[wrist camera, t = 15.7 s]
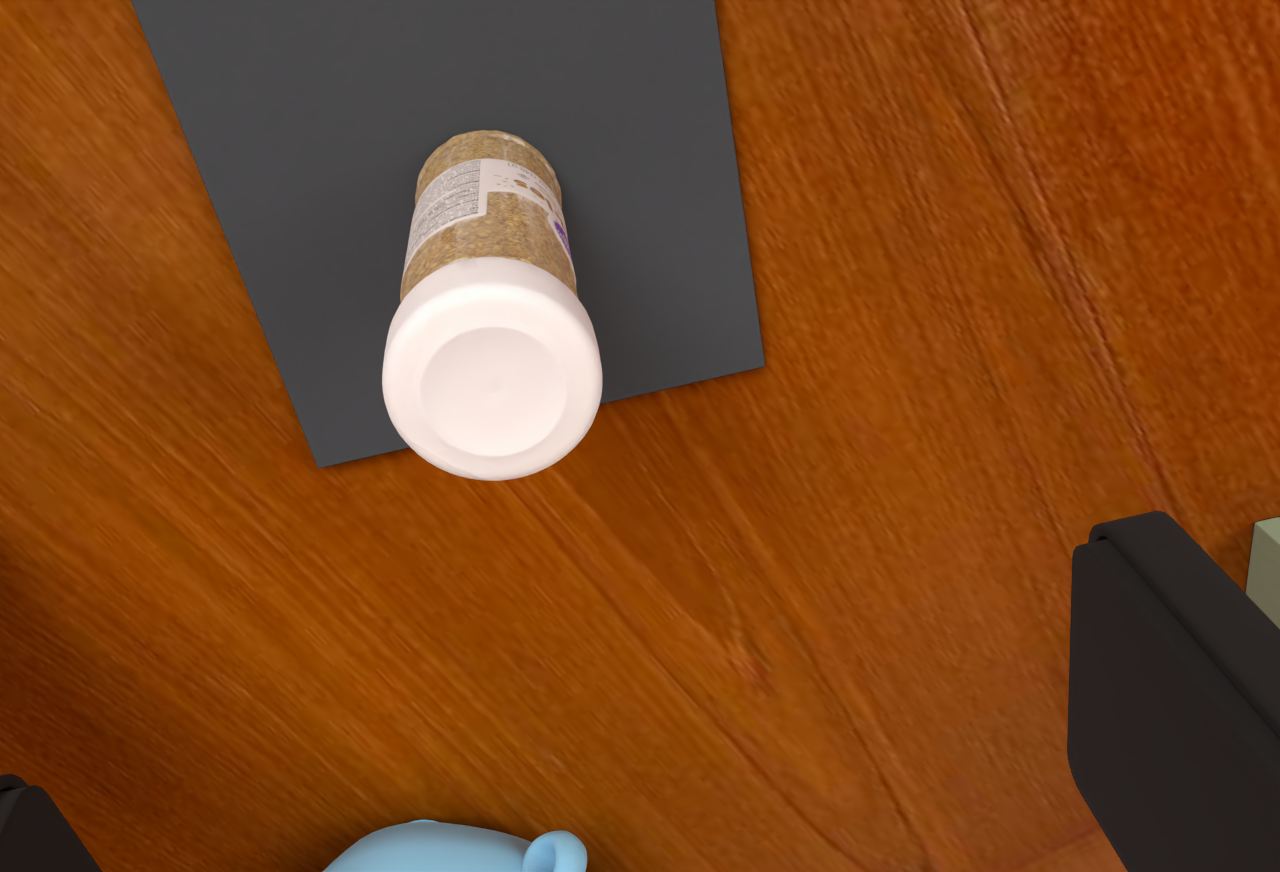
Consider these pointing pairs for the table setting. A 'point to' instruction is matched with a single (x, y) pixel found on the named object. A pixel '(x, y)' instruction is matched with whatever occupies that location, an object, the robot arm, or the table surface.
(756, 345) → the mat
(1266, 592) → the crate
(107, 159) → the table surface
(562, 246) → the sprinkles bottle
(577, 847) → the decorative pot
